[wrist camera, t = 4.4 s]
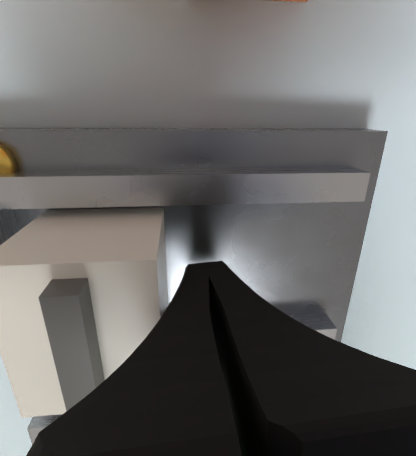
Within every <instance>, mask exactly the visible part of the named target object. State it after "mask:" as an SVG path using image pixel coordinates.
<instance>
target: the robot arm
mask: <svg viewBox="0 0 416 456" xmlns="http://www.w3.org/2000/svg"><path fill="white" fill-rule="evenodd" d="M26 456H416V370H414V369H411V368H408V367H405V366H402V365H399V364H396V363H393V362H390V361H387V360H384V359H381V358H378V357H375V356H373V355H370V354H368V353H365V352H363V351H360V350H358V349H355V348H353V347H350V346H348V345H345V344H343V343H341V342H338V341H336V340H334V339H332V338H330V337H327V336H325V335H323V334H321V333H319V332H317V331H315V330H313V329H311V328H309V327H307V326H306V325H304V324H302V323H300V322H298V321H297V320H295V319H293V318H292V317H290V316H288V315H287V314H285V313H284V312H282V311H280V310H279V309H277V308H276V307H274V306H273V305H271V304H270V303H269V302H267V301H266V300H265V299H263V298H262V297H261V296H259V295H258V294H257V293H256V292H255V291H253V290H252V289H251V288H250V287H249V286H248V285H247V284H246V283H244V282H243V281H242V280H241V279H240V278H239V277H238V276H237V275H236V274H235V273H234V272H233V271H232V270H231V269H230V268H229V267H228V266H227V265H226V263H224V262H223V261H213V262H204V263H195V264H188V265H187V266H186V267H185V272H184V275H183V277H182V280H181V282H180V284H179V286H178V288H177V290H176V292H175V294H174V296H173V298H172V300H171V302H170V303H169V305H168V307H167V308H166V310H165V312H164V313H163V315H162V316H161V318H160V319H159V321H158V322H157V324H156V325H155V326H154V328H153V329H152V330H151V332H150V333H149V334H148V335H147V337H146V338H145V339H144V340H143V341H142V343H141V344H140V345H139V346H138V347H137V348H136V349H135V351H134V352H133V353H132V354H131V355H130V356H129V357H128V358H127V359H126V360H125V361H124V362H123V364H122V365H121V366H120V367H118V368H117V369H116V370H115V371H114V372H113V373H112V374H111V375H110V376H109V377H108V378H107V379H106V380H104V381H103V382H102V383H101V384H100V385H99V386H98V387H96V388H95V389H94V390H93V391H92V392H91V393H89V394H88V395H87V396H86V397H85V398H83V399H82V400H81V401H79V402H78V403H77V404H75V405H74V406H73V407H72V408H70V409H69V410H68V411H66V412H65V413H64V414H63V415H61V416H60V417H59V418H57V419H56V420H55V421H53V422H52V423H51V424H49V425H48V426H47V427H45V428H44V429H43V430H41V431H40V432H39V433H38V435H37V437H36V439H35V441H34V443H33V445H32V447H31V448H30V450H29V452H28V454H27V455H26Z"/></svg>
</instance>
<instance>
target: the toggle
mask: <svg viewBox="0 0 416 456" xmlns="http://www.w3.org/2000/svg"><path fill="white" fill-rule="evenodd" d="M167 307H168V286H167V266H166V246H165V227H164V207H154V208H110V209H65V210H46V211H45V212H43V213H42V214H41V215H39V216H38V217H37V218H35V219H34V220H33V221H31V222H30V223H29V224H28V225H26V226H25V227H24V228H22V229H21V230H20V231H18V232H17V233H16V234H14V235H13V236H12V237H11V238H9V239H8V240H7V241H5V242H4V243H3V244H1V245H0V353H1V356H2V359H3V362H4V365H5V368H6V371H7V374H8V377H9V380H10V383H11V387H12V390H13V393H14V396H15V399H16V402H17V405H18V408H19V411H20V414H21V417H22V418H24V417H35V416H47V415H59V414H64V413H65V412H66V411H68V410H69V409H70V408H72V407H73V406H74V405H75V404H77V403H78V402H79V401H81V400H82V399H83V398H85V397H86V396H87V395H88V394H89V393H91V392H92V391H93V390H94V389H95V388H96V387H98V386H99V385H100V384H101V383H102V382H103V381H104V380H106V379H107V378H108V377H109V376H110V375H111V374H112V373H113V372H114V371H115V370H116V369H117V368H118V367H120V366H121V365H122V364H123V362H124V361H125V360H126V359H127V358H128V357H129V356H130V355H131V354H132V353H133V352H134V351H135V349H136V348H137V347H138V346H139V345H140V344H141V343H142V341H143V340H144V339H145V338H146V337H147V335H148V334H149V333H150V332H151V330H152V329H153V328H154V326H155V325H156V324H157V322H158V321H159V319H160V318H161V316H162V315H163V313H164V312H165V310H166V308H167Z"/></svg>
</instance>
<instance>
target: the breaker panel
mask: <svg viewBox="0 0 416 456" xmlns="http://www.w3.org/2000/svg"><path fill="white" fill-rule="evenodd" d="M387 132H388V131H380V130H369V129H55V128H0V245H1V244H3V243H4V242H5V241H7V240H8V239H9V238H11V237H12V236H13V235H14V234H16V233H17V232H18V231H20V230H21V229H22V228H24V227H25V226H26V225H28V224H29V223H30V222H31V221H33V220H34V219H35V218H37V217H38V216H39V215H41V214H42V213H43V212H45V211H46V210H65V209H110V208H154V207H164V227H165V246H166V266H167V286H168V305H169V303H170V302H171V300H172V298H173V296H174V294H175V292H176V290H177V288H178V286H179V284H180V282H181V280H182V277H183V275H184V272H185V267H186V266H187V265H188V264H195V263H204V262H213V261H223V262H224V263H226V265H227V266H228V267H229V268H230V269H231V270H232V271H233V272H234V273H235V274H236V275H237V276H238V277H239V278H240V279H241V280H242V281H243V282H244V283H246V284H247V285H248V286H249V287H250V288H251V289H252V290H253V291H255V292H256V293H257V294H258V295H259V296H261V297H262V298H263V299H265V300H266V301H267V302H269V303H270V304H271V305H273V306H274V307H276V308H277V309H279V310H280V311H282V312H284V313H285V314H287V315H288V316H290V317H292V318H293V319H295V320H297V321H298V322H300V323H302V324H304V325H306V326H307V327H309V328H311V329H313V330H315V331H317V332H319V333H321V334H323V335H325V336H327V337H330V338H332V339H334V340H336V341H338V342H341V338H342V333H343V329H344V324H345V320H346V315H347V311H348V306H349V302H350V298H351V293H352V289H353V284H354V280H355V275H356V271H357V266H358V262H359V257H360V253H361V248H362V244H363V239H364V235H365V230H366V226H367V221H368V217H369V212H370V208H371V203H372V199H373V195H374V190H375V186H376V181H377V177H378V172H379V168H380V163H381V159H382V154H383V150H384V145H385V141H386V136H387ZM61 415H63V414H59V415H47V416H35V417H33V418H32V420H31V422H30V424H29V426H28V428H27V429H28V432H29V436H30V439H31V442H32V445H33V443H34V441H35V439H36V437H37V435H38V433H39V432H40V431H41V430H43V429H44V428H45V427H47V426H48V425H49V424H51V423H52V422H53V421H55V420H56V419H57V418H59V417H60V416H61Z"/></svg>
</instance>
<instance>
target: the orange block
mask: <svg viewBox="0 0 416 456" xmlns="http://www.w3.org/2000/svg"><path fill="white" fill-rule="evenodd" d="M274 1H297V2H307V1H308V0H274Z"/></svg>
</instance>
